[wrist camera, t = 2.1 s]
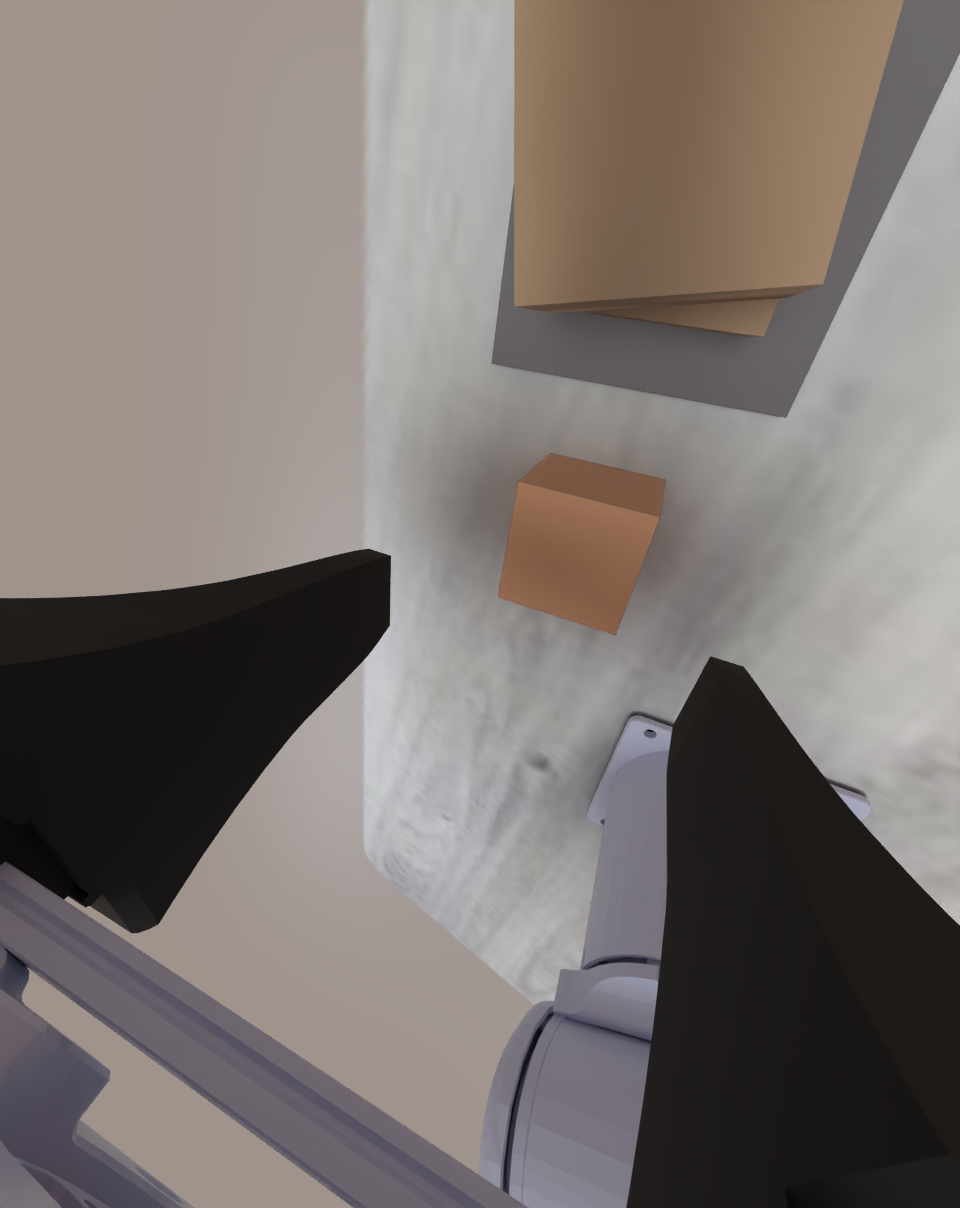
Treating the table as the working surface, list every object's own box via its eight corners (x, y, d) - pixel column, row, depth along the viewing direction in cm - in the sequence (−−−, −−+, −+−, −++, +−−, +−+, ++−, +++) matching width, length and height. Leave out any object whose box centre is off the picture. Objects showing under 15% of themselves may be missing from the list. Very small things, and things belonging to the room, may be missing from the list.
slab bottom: (871, 24, 9) (937, -87, 7) (748, 336, 12) (763, 337, 10) (604, 28, 10) (579, -64, 8) (553, 308, 13) (525, 302, 11)
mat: (1033, -114, 8) (1048, -134, 8) (783, 415, 13) (786, 417, 13) (552, -79, 10) (548, -92, 10) (495, 363, 15) (491, 363, 15)
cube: (665, 478, 15) (659, 517, 12) (628, 579, 17) (615, 635, 14) (551, 452, 16) (518, 481, 13) (530, 551, 18) (497, 596, 15)
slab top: (889, -100, 7) (999, -337, 4) (787, 297, 9) (823, 284, 7) (563, -1, 8) (514, -134, 6) (551, 313, 11) (514, 306, 9)
